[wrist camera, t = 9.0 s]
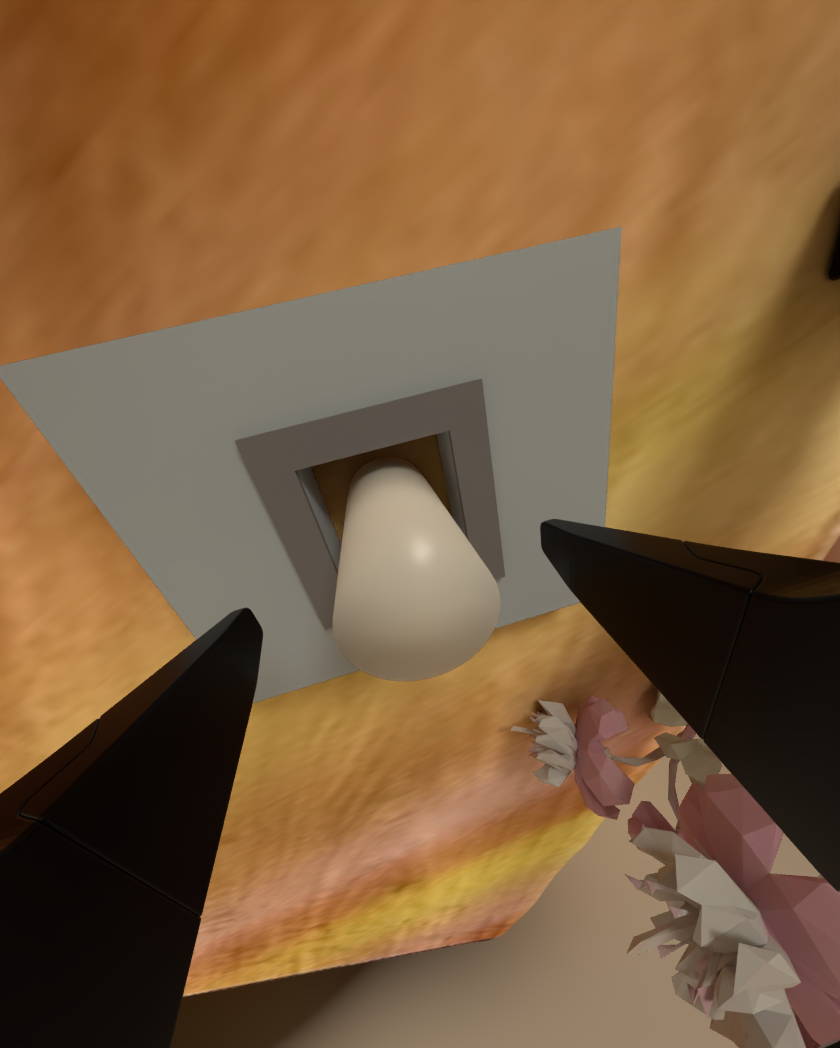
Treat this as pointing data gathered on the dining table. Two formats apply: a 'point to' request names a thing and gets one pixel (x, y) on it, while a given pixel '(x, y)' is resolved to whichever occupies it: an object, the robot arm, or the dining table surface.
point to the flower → (712, 882)
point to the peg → (408, 579)
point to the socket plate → (344, 433)
